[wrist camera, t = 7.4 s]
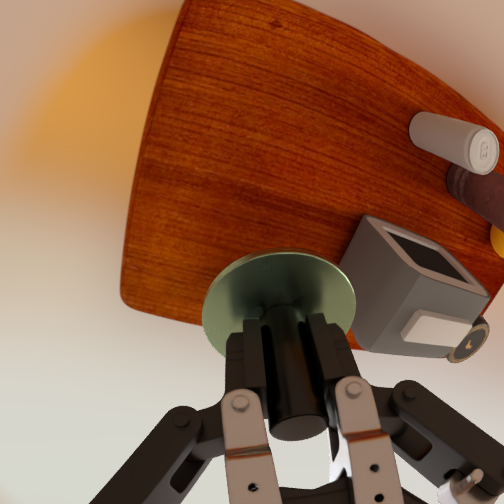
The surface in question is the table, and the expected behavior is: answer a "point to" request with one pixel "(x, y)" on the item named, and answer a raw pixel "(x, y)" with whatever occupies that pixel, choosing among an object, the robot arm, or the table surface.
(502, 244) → the orange
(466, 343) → the jar
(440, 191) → the table surface
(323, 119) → the table surface
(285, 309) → the lid
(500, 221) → the can
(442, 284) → the alarm clock
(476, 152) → the beverage can
